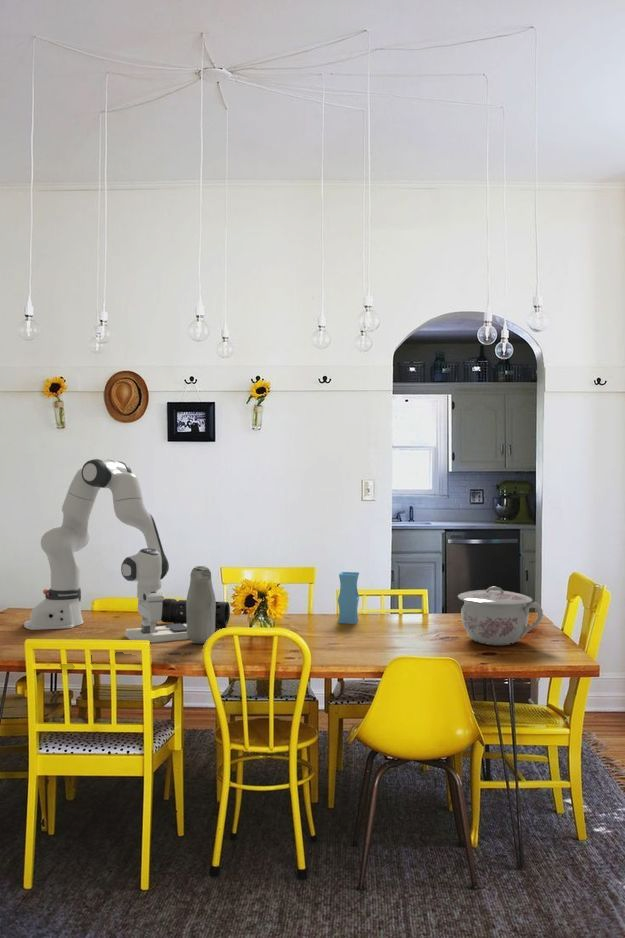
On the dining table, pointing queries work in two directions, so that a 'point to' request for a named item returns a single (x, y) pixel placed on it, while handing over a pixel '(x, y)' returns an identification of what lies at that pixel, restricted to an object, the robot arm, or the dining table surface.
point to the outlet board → (160, 633)
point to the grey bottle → (200, 605)
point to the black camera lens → (177, 613)
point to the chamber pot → (497, 615)
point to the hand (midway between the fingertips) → (148, 629)
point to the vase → (348, 597)
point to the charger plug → (145, 626)
